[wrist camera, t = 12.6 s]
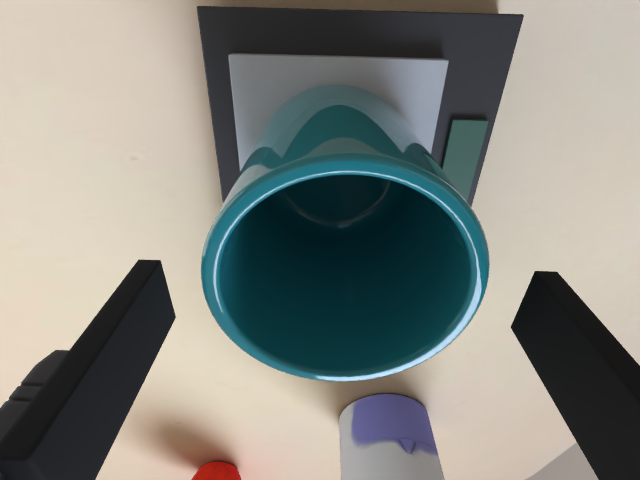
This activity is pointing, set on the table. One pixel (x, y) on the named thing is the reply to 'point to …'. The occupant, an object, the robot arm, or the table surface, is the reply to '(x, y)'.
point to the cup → (343, 244)
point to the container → (387, 440)
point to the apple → (217, 472)
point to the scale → (360, 74)
